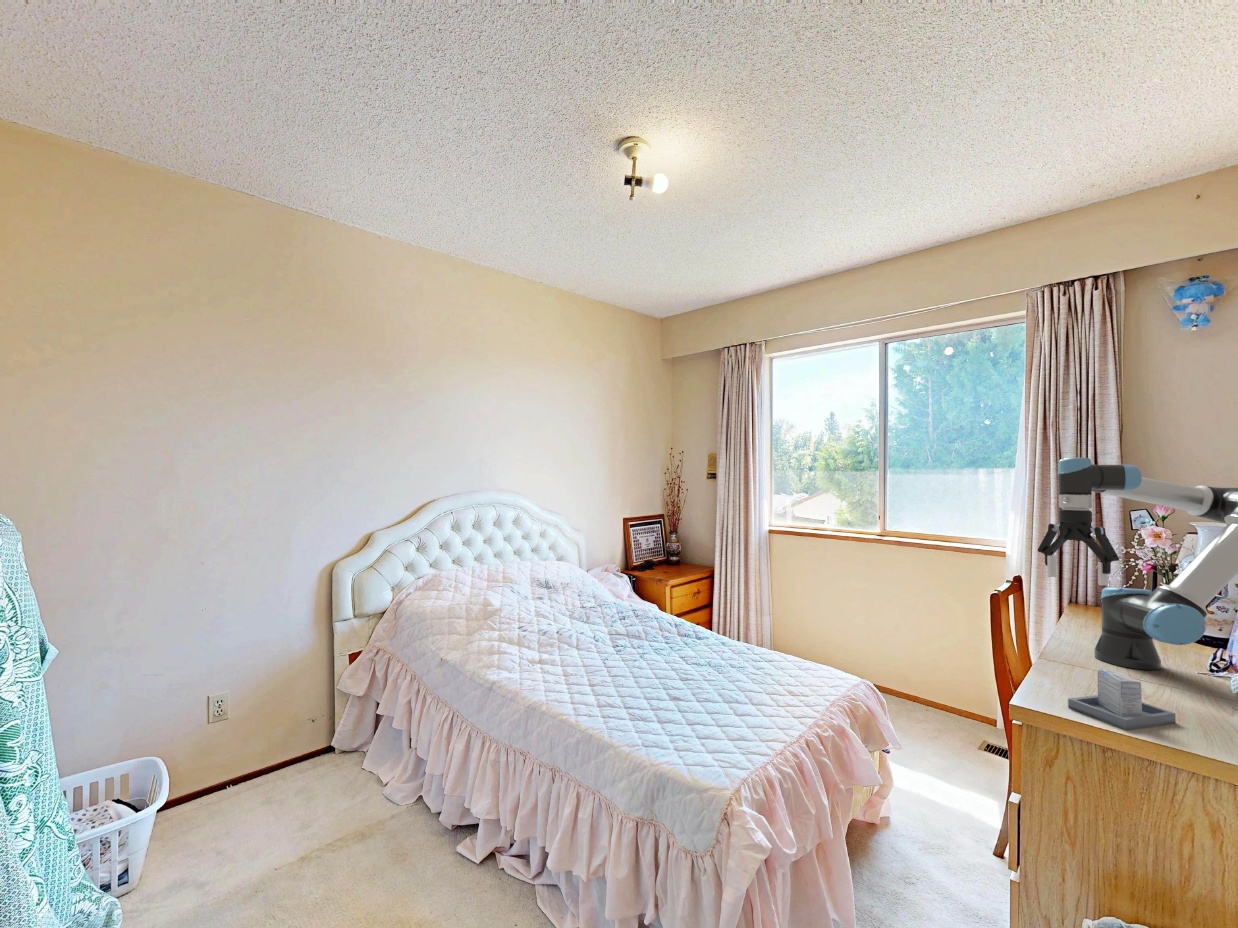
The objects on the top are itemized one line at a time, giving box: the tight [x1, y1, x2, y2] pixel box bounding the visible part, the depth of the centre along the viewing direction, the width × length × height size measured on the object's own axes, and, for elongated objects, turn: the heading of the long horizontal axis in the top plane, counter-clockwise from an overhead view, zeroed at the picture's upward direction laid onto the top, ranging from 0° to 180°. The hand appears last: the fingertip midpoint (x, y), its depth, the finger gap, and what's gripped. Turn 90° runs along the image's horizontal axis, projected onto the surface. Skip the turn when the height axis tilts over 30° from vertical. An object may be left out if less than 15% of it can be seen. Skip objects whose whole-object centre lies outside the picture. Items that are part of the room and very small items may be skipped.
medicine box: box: [1097, 669, 1143, 718], centre depth 127 cm, size 8×4×9 cm, turn 169°
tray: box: [1067, 694, 1177, 731], centre depth 126 cm, size 16×12×2 cm
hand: (1076, 580), depth 158 cm, fingers open, 13 cm apart
